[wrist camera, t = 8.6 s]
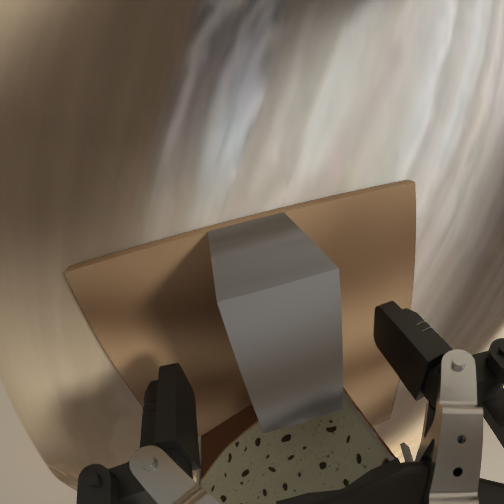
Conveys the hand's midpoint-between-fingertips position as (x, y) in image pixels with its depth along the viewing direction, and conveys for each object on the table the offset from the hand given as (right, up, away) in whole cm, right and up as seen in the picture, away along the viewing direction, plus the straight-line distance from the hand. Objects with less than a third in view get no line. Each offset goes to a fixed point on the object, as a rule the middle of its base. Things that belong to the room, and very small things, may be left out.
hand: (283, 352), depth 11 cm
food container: (+1, -6, +6) cm, 9 cm away
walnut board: (0, -3, +5) cm, 6 cm away
